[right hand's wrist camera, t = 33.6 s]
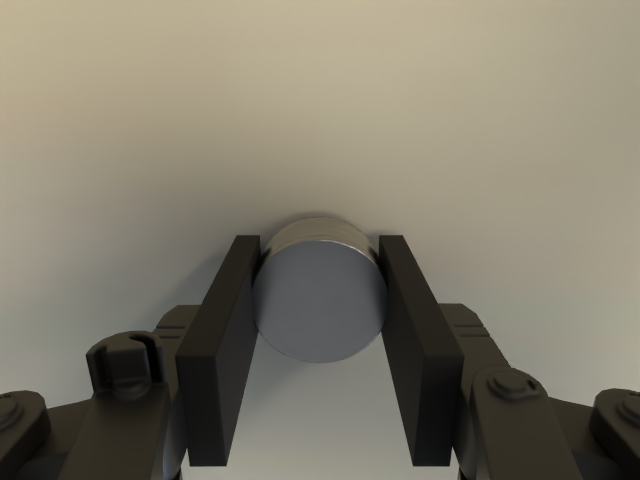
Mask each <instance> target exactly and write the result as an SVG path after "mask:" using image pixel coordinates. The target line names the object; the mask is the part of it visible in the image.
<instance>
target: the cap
mask: <svg viewBox="0 0 640 480" xmlns="http://www.w3.org/2000/svg"><path fill="white" fill-rule="evenodd" d="M387 297H388V286H387V283H386V280H385V276H384V273H383V270H382V267H381V264H380V261H379V258H378V255H377V252H376V250H375V248H374V246H373V245H372V243H371V242H370V240H369V239H368V238H367V237H366V236H365V235H364V234H363V233H362V232H361V231H360V230H358V229H357V228H355V227H354V226H352V225H350V224H348V223H346V222H344V221H341V220H338V219H333V218H328V217H312V218H306V219H302V220H299V221H296V222H293V223H291V224H289V225H287V226H286V227H284V228H283V229H281V230H280V231H279V232H278V233H276V234H275V235H274V236H273V238H272V239H271V240H270V241H269V243H268V244H267V245H266V247H265V249H264V251H263V253H262V256H261V259H260V262H259V266H258V269H257V272H256V275H255V278H254V281H253V284H252V305H253V320H254V323H255V325H256V327H257V329H258V331H259V332H260V334H261V335H262V336H263V338H264V339H265V340H266V341H267V342H268V343H269V344H270V345H271V346H272V347H274V348H275V349H276V350H278V351H279V352H281V353H283V354H285V355H287V356H289V357H291V358H294V359H297V360H300V361H305V362H312V363H328V362H335V361H339V360H343V359H346V358H348V357H351V356H353V355H355V354H357V353H359V352H360V351H362V350H363V349H364V348H366V347H367V346H368V345H369V344H370V343H372V342H373V340H374V339H375V338H376V337H377V336H378V334H379V333H380V331H381V330H382V328H383V326H384V324H385V322H386V313H387Z"/></svg>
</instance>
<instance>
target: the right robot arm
mask: <svg viewBox="0 0 640 480" xmlns="http://www.w3.org/2000/svg"><path fill="white" fill-rule="evenodd" d="M378 258H379V261H380V264H381V267H382V270H383V273H384V276H385V280H386V283H387V286H388V297H387V313H386V322H385V324H384V326H383V328H382V330H381V333H382V337H383V342H384V346H385V350H386V354H387V358H388V363H389V367H390V371H391V375H392V379H393V384H394V388H395V392H396V396H397V400H398V405H399V409H400V413H401V417H402V422H403V426H404V430H405V434H406V438H407V443H408V447H409V451H410V455H411V459H412V464H413V466H450V459H451V452H452V446H453V449H454V451H455V454H456V457H457V460H458V463H459V472H458V479H457V480H640V393H639V392H636V391H631V390H626V389H615V388H613V389H608V390H603V391H601V392H600V393H599V394H598V395H597V396H596V398H595V402H594V405H593V407H590V406H585V405H580V404H576V403H571V402H566V401H562V400H558V399H555V398H551V397H548V395H547V392H546V391H545V389H544V388H543V386H542V385H541V384H540V382H538V381H537V380H536V379H534V378H533V377H532V376H530V375H529V374H527V373H524V372H522V371H520V370H518V369H515V368H511V367H510V365H509V363H508V362H507V360H506V359H505V357H504V356H503V354H502V353H501V351H500V350H499V348H498V347H497V345H496V344H495V342H494V341H493V339H492V337H490V334H489V333H488V331H487V330H486V328H485V327H483V324H482V322H481V321H480V319H479V318H478V316H477V314H476V313H474V312H473V311H472V310H470V309H469V308H467V307H466V306H464V305H463V304H438V303H437V301H436V299H435V297H434V295H433V293H432V291H431V289H430V287H429V286H428V284H427V282H426V280H425V278H424V276H423V274H422V272H421V270H420V268H419V266H418V264H417V262H416V260H415V258H414V256H413V254H412V253H411V251H410V249H409V247H408V245H407V243H406V241H405V239H404V237H403V235H379V255H378ZM260 259H261V245H260V235H237V236H236V238H235V240H234V242H233V244H232V246H231V248H230V250H229V251H228V253H227V255H226V257H225V259H224V261H223V263H222V265H221V267H220V269H219V271H218V273H217V275H216V277H215V279H214V281H213V283H212V284H211V286H210V288H209V290H208V292H207V294H206V296H205V298H204V300H203V302H202V304H201V305H177V306H176V307H174V308H173V309H172V310H170V311H169V312H167V313H166V314H164V315H163V317H162V318H161V320H160V322H159V323H158V325H157V326H156V329H154V331H153V332H152V333H151V332H147V331H129V332H124V333H119V334H115V335H113V336H110V337H108V338H105V339H103V340H101V341H100V342H98V343H97V344H95V345H94V346H92V347H91V349H90V350H89V351H88V352H87V353H86V359H87V364H88V368H89V373H90V377H91V382H92V386H93V391H94V393H93V395H92V398H91V399H88V400H85V401H81V402H77V403H73V404H68V405H63V406H59V407H54V408H49V409H47V408H46V404H45V400H44V398H43V397H42V396H41V395H40V394H39V393H37V392H32V391H27V390H24V391H14V392H9V393H4V394H1V395H0V480H183V479H182V472H181V463H182V461H183V458H184V455H185V452H186V449H188V456H189V463H190V466H227V461H228V457H229V453H230V449H231V445H232V440H233V436H234V432H235V428H236V424H237V419H238V415H239V411H240V407H241V403H242V398H243V394H244V390H245V386H246V382H247V377H248V373H249V369H250V365H251V360H252V356H253V352H254V348H255V344H256V339H257V335H258V329H257V327H256V325H255V323H254V320H253V305H252V284H253V281H254V278H255V275H256V272H257V269H258V266H259V262H260Z"/></svg>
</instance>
